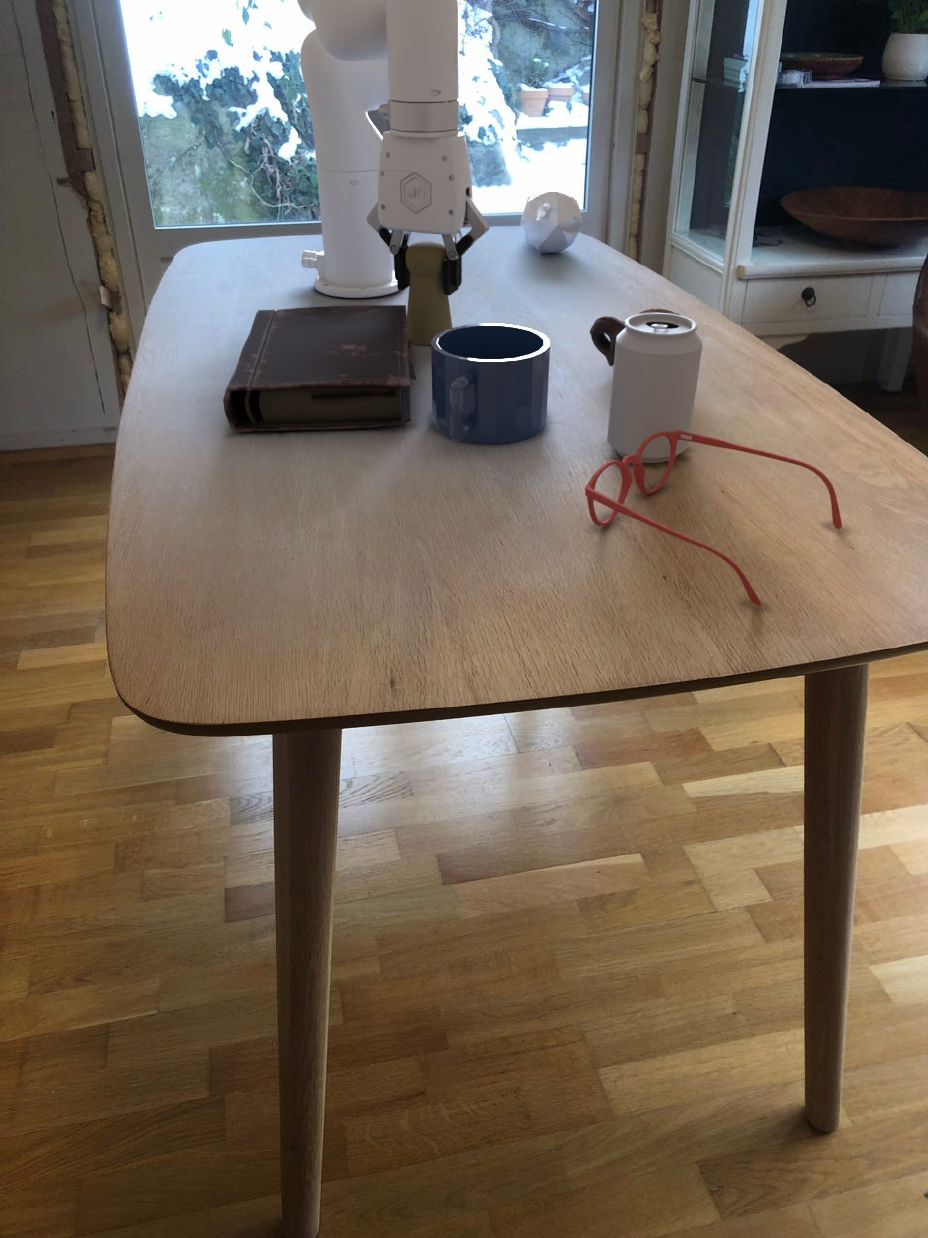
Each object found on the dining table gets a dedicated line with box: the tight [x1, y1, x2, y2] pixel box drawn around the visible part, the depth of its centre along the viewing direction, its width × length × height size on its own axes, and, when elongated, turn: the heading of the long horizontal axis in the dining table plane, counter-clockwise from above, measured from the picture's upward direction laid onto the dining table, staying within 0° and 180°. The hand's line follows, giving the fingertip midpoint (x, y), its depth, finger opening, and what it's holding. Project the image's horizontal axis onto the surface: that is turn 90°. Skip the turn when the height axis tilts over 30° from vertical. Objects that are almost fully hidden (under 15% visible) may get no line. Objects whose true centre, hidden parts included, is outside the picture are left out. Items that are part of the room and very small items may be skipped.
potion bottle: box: [519, 188, 583, 254], centre depth 151 cm, size 9×10×15 cm
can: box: [606, 313, 703, 464], centre depth 86 cm, size 8×8×12 cm
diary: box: [222, 304, 418, 433], centre depth 101 cm, size 19×25×5 cm
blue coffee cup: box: [430, 323, 551, 445], centre depth 91 cm, size 15×11×8 cm
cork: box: [405, 240, 453, 346], centre depth 113 cm, size 6×6×11 cm
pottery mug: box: [589, 308, 697, 367], centre depth 103 cm, size 12×10×8 cm
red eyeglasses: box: [584, 430, 843, 607], centre depth 74 cm, size 17×16×5 cm
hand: (428, 288), depth 113 cm, fingers closed on cork, 5 cm apart
